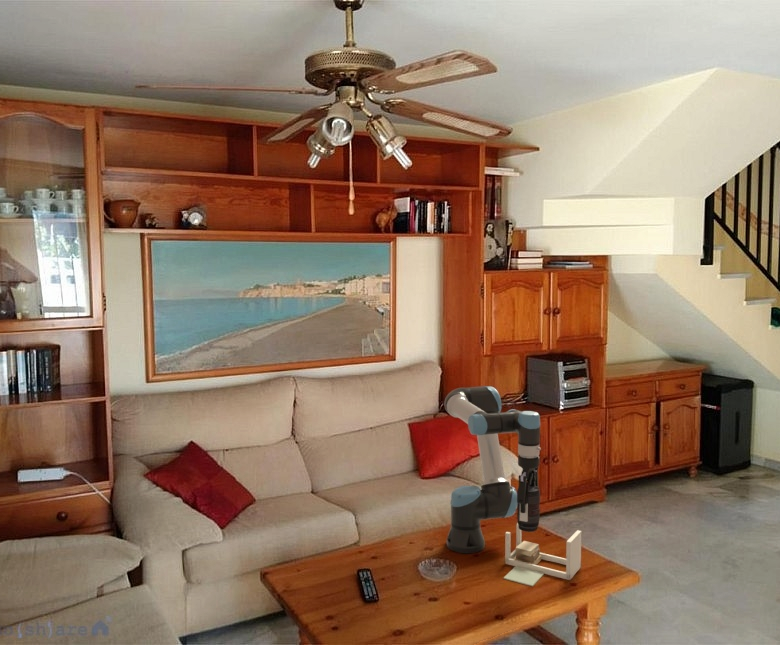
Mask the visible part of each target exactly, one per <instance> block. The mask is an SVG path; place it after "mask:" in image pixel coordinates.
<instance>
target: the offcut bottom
mask: <svg viewBox="0 0 780 645" xmlns="http://www.w3.org/2000/svg"><path fill="white" fill-rule="evenodd" d="M513 559H514V560H518V561H522V562H526V563H530V564H534V565H538V564H539V563H540V562H541V561H542V559H541V555H539V557H538V558H537V559H536V561H535V562H530V561H525V560H520V559H516V556H515V557H514V558H513Z"/></svg>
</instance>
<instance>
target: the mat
mask: <svg viewBox="0 0 780 645" xmlns="http://www.w3.org/2000/svg"><path fill="white" fill-rule="evenodd" d="M544 575H545V574H544V573H541V572H537V571H534V570H530V569H526V568H522V567H518V566H513V568H512V569H511V570H510V571H509V572H508V573H506V575H505V576H504V577H503V580H507V581H510V582H511V581H512V582H515V583H519V584H521V585H525V586H526V585H527V586H529V587H534V586H535V585H536V584H537V582H538V581H539V580H540V579H541V578H542V577H543V576H544Z"/></svg>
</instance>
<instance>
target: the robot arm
mask: <svg viewBox="0 0 780 645" xmlns="http://www.w3.org/2000/svg"><path fill="white" fill-rule="evenodd" d="M501 399H502V398H501V396H500V393H499V391H498V390H497V389H496V388H495V387H493V386H487V385H486V386H485V385H481V386H471V387H458V388H455V389H453V390H451V391H450V392H448V394H447V395H446V397H445V398H444V402H443V403H444V404H443V405H444V410H445V411H446V412H447V413H448V414H449V415H450V416H451V417H453V418H456V419H457V418H458V419H460V420H461V421H463V422H464V423H465V424H467V427H468V431H469V432H470V434H471V435H473V436H476V438H477V443H478V452H479V457H480V463H481V470H482V476H483V482H482V483H481V485H480V487H479V486H477V485H474V484H473V485H469V484H468V485H461V486H458V487H456V488H455V489H454V490H453V491H452V492H451V494H450V529H449V531H448V533H447V538H446V547H447V548H448V549H449V550H450V551H452V552H455V553H459V554H474V553H480V552H482V551H483V550H484V549H485V543H486V542H485V539H484V538H485V537H484V535H483V532H482V528H481V521H482V520H492V519H504V518H509V517H513V516H514V515H515V513H517V503H520V521H525V522H527V521H528V503H527V498H528V491H529V486H537V487H538V488H539V489H540V487H539V466H540V456H539V455H540V451H541V450H542V448H541V447H540V445H541V444H540V441H541V440H540V439H541V438H540V437H541V417H540V414H539V412H537V411H533V410H523V411H521V410H518V409H515V408H514V409H513V408H512V409H509V410H507V411H505V412H502V400H501ZM510 433H511V434H512V433H516V434H517V435H518V437H517V438H518V442H517V447H518V448H517V454H518V455H517V465H518V466H519V467H520V468H522V471H521V474H519V475H518V487H517V490H518V500H517V490H516V488H515V487H514V486H511V484H510V481H509V480H508V479H506V476H505V470H504V465H503V459H502V453H501V452H502V451H501V447H500V441H499V435H498V434H510Z"/></svg>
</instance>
